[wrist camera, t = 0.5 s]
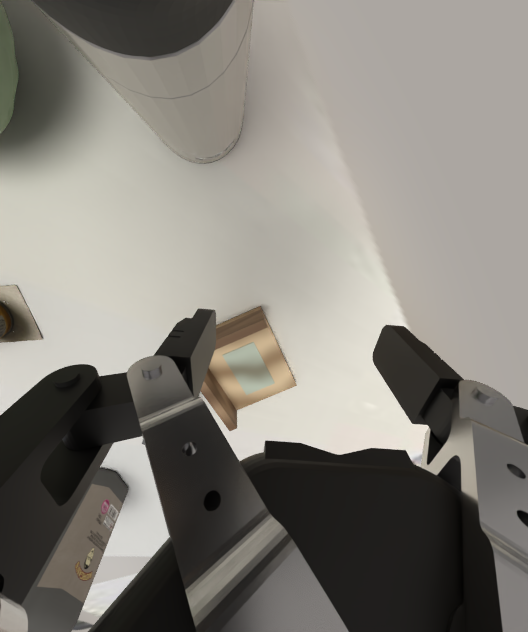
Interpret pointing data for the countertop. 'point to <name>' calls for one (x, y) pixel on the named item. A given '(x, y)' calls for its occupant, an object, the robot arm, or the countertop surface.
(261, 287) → the countertop surface
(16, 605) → the robot arm
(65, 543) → the liquor
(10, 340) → the condiment
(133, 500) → the countertop surface
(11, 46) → the green rounded lump
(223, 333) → the walls
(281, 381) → the tray
